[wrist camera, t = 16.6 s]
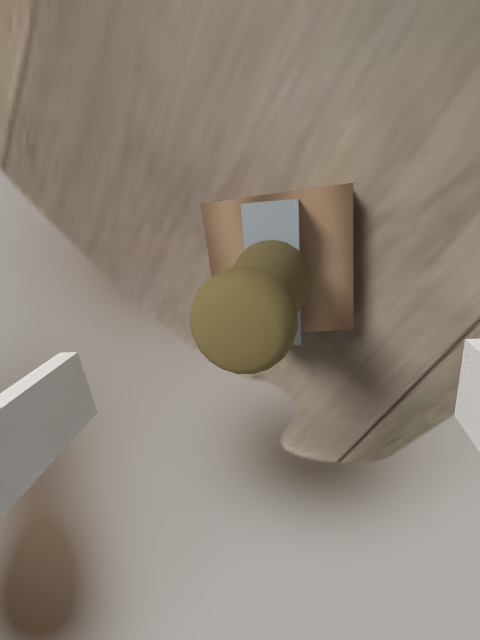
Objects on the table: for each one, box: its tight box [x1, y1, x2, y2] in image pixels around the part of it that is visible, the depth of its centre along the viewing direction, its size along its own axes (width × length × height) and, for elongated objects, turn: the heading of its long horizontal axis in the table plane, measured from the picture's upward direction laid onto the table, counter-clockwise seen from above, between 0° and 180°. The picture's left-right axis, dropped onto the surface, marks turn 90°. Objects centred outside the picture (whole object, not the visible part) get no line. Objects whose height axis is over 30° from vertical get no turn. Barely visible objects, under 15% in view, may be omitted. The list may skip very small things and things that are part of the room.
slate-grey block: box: [241, 199, 301, 345], centre depth 26 cm, size 4×11×4 cm, turn 4°
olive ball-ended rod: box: [190, 240, 312, 374], centre depth 19 cm, size 6×6×11 cm
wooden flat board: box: [201, 183, 354, 332], centre depth 29 cm, size 12×12×4 cm
